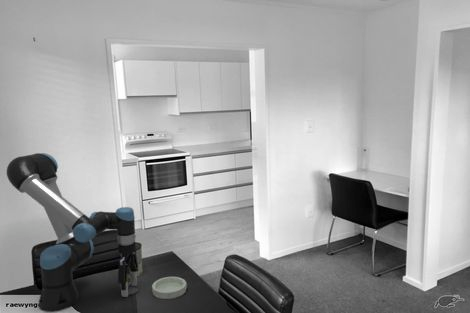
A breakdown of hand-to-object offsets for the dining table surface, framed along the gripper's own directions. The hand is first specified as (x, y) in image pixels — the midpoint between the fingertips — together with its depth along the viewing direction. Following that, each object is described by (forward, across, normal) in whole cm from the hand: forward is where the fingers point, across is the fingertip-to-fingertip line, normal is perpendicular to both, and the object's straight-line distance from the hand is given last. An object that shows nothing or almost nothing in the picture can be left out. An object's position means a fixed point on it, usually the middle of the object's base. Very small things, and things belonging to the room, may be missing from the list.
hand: (129, 290), depth 165 cm
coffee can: (0, +18, +6) cm, 19 cm away
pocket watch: (0, 0, 0) cm, 0 cm away
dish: (0, +2, -18) cm, 18 cm away
